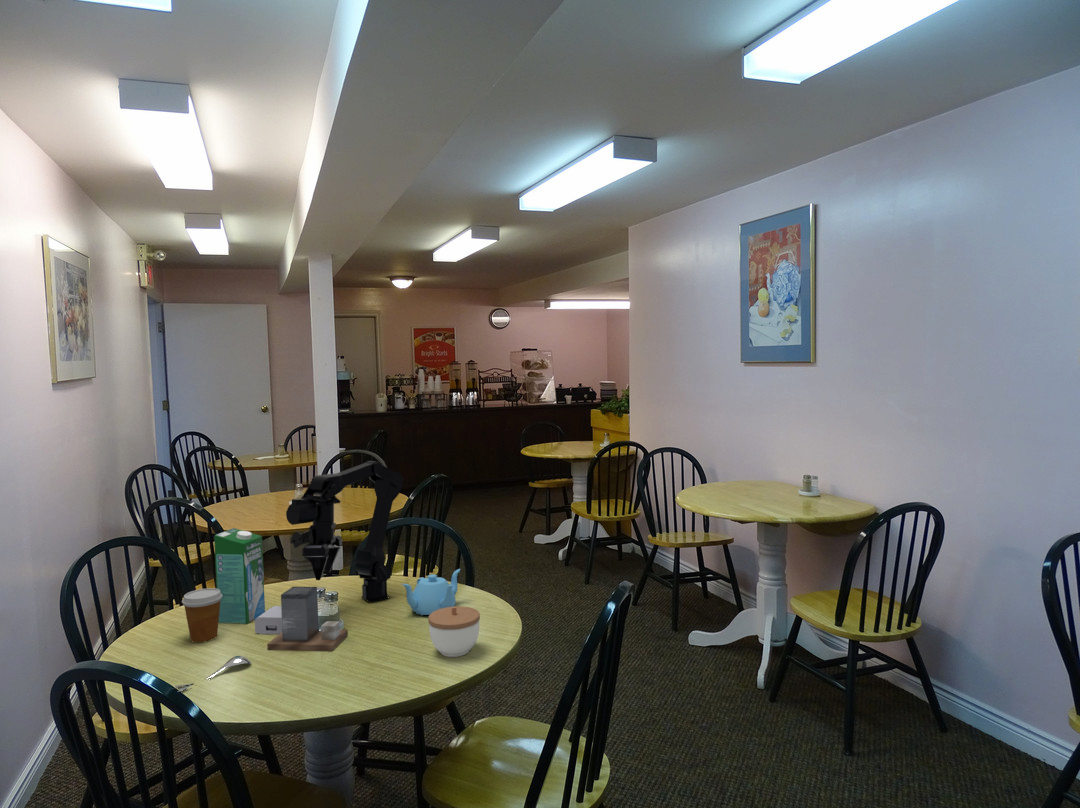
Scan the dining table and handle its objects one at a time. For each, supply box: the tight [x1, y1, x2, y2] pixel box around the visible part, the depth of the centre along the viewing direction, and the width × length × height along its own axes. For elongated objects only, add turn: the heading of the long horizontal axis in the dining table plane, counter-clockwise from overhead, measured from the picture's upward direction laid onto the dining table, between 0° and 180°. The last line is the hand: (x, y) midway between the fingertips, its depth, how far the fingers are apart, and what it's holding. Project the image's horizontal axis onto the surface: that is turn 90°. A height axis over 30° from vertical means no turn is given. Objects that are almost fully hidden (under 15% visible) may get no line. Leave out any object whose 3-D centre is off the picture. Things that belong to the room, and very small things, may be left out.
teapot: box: [401, 568, 461, 616], centre depth 195 cm, size 15×15×10 cm
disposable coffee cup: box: [181, 587, 222, 643], centre depth 177 cm, size 10×10×12 cm
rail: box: [266, 620, 349, 652], centre depth 173 cm, size 17×10×5 cm, turn 85°
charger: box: [254, 605, 282, 635], centre depth 187 cm, size 5×9×15 cm
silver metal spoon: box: [173, 655, 253, 692], centre depth 153 cm, size 20×4×5 cm
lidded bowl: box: [427, 605, 481, 658], centre depth 166 cm, size 13×13×11 cm
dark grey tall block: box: [280, 586, 320, 642], centre depth 173 cm, size 7×7×12 cm
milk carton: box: [213, 527, 266, 625], centre depth 191 cm, size 9×9×25 cm
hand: (322, 576), depth 189 cm, fingers open, 9 cm apart
